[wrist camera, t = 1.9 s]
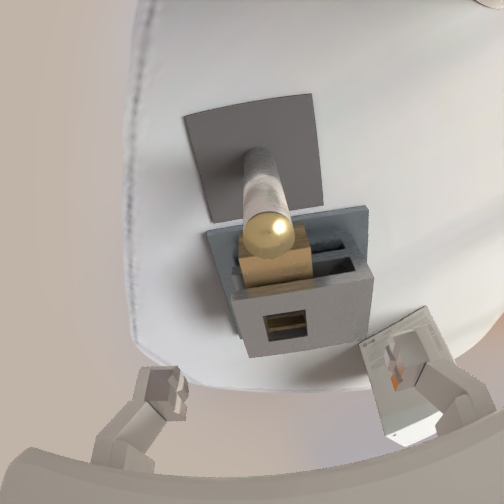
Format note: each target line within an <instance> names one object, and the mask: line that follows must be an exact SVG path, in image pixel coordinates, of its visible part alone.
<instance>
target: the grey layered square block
mask: <svg viewBox="0 0 504 504" xmlns="http://www.w3.org/2000/svg"><path fill="white" fill-rule="evenodd" d="M368 216H369V210H368V208H367V207H366V206H359V207H352V208H345V209H339V210H332V211H325V212H319V213H312V214H306V215H299V216H293V217H291V221H292V225H293V228H294V232H295V241H294V244H293V246H292V247H291V249H290V250H289V251H288V252H287V253H286V254H284V255H283V256H281V257H278V258H275V259H262V258H258V257H256V256H254V255H252V254H251V253H250V252H249V251H248V250H247V249H246V247H245V245H244V242H243V225H238V226H233V227H227V228H221V229H216V230H210V231H207V238H208V242H209V245H210V248H211V251H212V254H213V258H214V261H215V264H216V267H217V270H218V273H219V276H220V280H221V283H222V286H223V289H224V292H225V295H226V298H227V301H228V304H229V307H230V310H231V313H232V316H233V319H234V322H235V325H236V328H237V331H238V334H239V337H240V339H243V341H244V344H245V347H246V350H247V353H248V355H249V358H255V357H263V356H270V355H278V354H285V353H291V352H298V351H304V350H310V349H316V348H322V347H327V346H333V345H338V344H343V343H348V342H353V341H358V340H363V339H366V338H367V331H368V324H369V317H370V309H371V301H372V293H373V283H374V277H373V274H372V272H371V270H370V268H369V266H368V264H367V247H368Z"/></svg>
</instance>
